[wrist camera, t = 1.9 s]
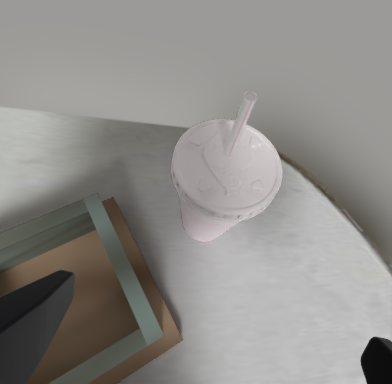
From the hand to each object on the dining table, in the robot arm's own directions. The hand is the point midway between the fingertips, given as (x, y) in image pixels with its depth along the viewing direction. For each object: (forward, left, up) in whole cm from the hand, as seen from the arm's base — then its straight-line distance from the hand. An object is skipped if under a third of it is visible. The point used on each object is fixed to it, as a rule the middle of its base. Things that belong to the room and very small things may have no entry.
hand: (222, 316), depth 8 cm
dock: (+5, +7, -14) cm, 16 cm away
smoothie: (+6, -5, -14) cm, 16 cm away
